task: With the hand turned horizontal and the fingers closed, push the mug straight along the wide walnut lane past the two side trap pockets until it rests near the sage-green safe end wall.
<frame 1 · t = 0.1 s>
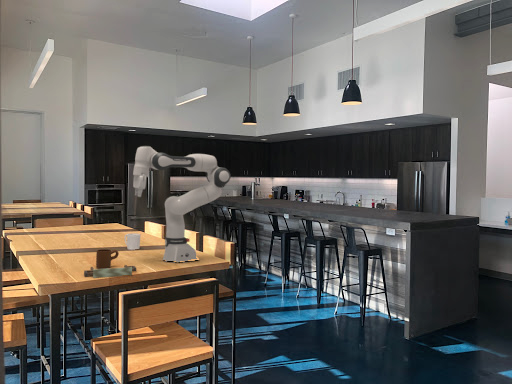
hand: (137, 196, 240), 39 cm above the table, tool pointing down, fingers open, 8 cm apart
mug 2: (131, 249, 283), on the table
mug: (107, 267, 225), on the table
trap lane: (110, 272, 213), on the table
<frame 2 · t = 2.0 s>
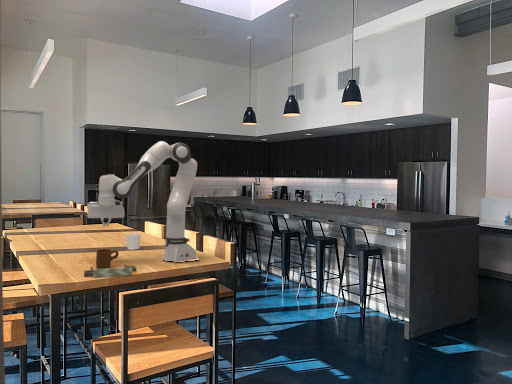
hand: (105, 225, 237), 21 cm above the table, tool pointing down, fingers closed
nothing on the table moved.
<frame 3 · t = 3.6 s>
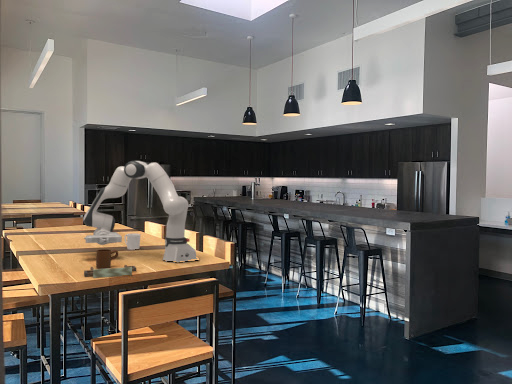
hand: (105, 241, 237), 12 cm above the table, tool horizontal, fingers closed
nothing on the table moved.
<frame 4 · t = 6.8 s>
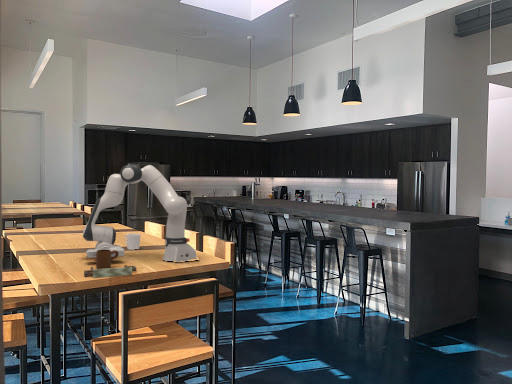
hand: (107, 255, 227), 6 cm above the table, tool horizontal, fingers closed
mug: (107, 267, 224), on the table, touching gripper
everything else where it was.
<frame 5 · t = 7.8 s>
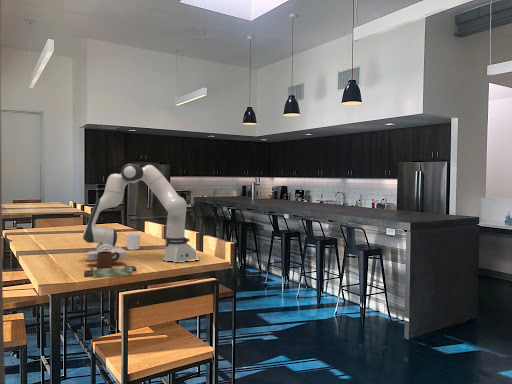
hand: (108, 257, 222), 6 cm above the table, tool horizontal, fingers closed
mug: (108, 270, 219), on the table, touching gripper
everything else where it was.
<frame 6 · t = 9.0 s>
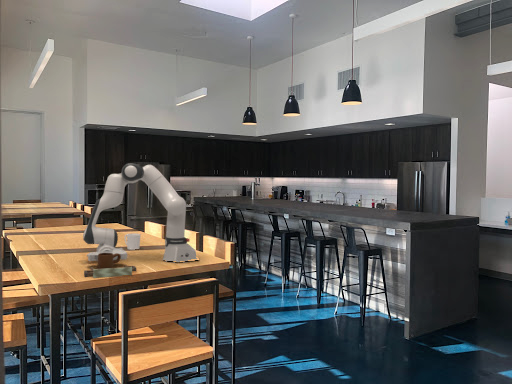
hand: (109, 258, 218), 6 cm above the table, tool horizontal, fingers closed
mug: (109, 271, 216), on the table, touching gripper
everything else where it was.
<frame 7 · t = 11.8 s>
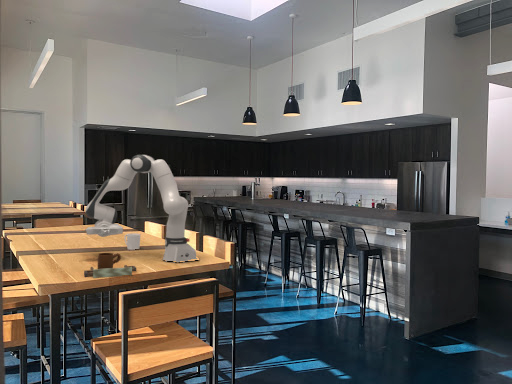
hand: (106, 232, 235), 18 cm above the table, tool horizontal, fingers closed
mug: (109, 271, 216), on the table
everything else where it was.
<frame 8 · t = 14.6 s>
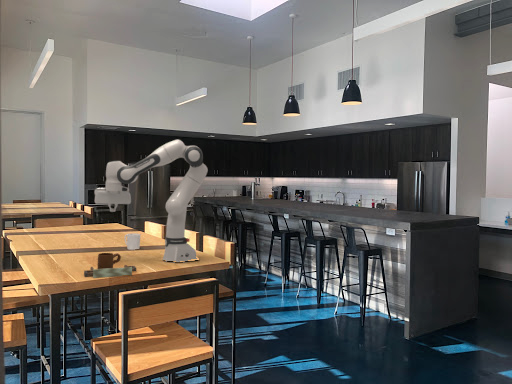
hand: (112, 211, 242), 29 cm above the table, tool pointing down, fingers closed
nothing on the table moved.
at the end: mug inside the target area (2.2 cm from its centre), on the table; mug tilted 0°; mug moved 10.9 cm from its start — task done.
